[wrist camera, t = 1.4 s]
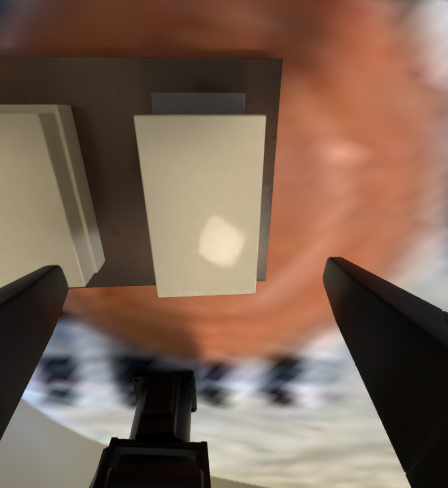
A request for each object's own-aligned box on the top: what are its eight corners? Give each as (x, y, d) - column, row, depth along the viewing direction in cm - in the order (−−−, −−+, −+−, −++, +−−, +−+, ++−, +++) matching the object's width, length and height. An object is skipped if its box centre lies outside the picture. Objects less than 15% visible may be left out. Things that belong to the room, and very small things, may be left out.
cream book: (250, 274, 19) (255, 294, 17) (162, 278, 18) (157, 298, 16) (258, 114, 14) (266, 114, 12) (142, 114, 14) (132, 115, 12)
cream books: (105, 260, 22) (88, 287, 18) (27, 263, 21) (-5, 290, 18) (71, 105, 17) (39, 103, 14) (-32, 105, 16) (-90, 103, 13)
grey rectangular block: (237, 261, 22) (242, 287, 19) (176, 263, 22) (171, 290, 19) (240, 96, 17) (249, 92, 14) (160, 96, 17) (150, 92, 14)
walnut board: (262, 273, 25) (265, 281, 23) (8, 283, 23) (-2, 291, 22) (277, 61, 17) (282, 58, 16) (-87, 58, 16) (-107, 54, 15)
